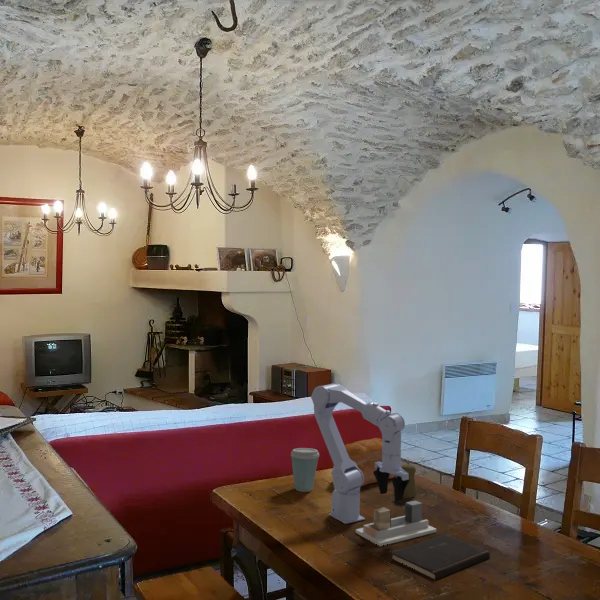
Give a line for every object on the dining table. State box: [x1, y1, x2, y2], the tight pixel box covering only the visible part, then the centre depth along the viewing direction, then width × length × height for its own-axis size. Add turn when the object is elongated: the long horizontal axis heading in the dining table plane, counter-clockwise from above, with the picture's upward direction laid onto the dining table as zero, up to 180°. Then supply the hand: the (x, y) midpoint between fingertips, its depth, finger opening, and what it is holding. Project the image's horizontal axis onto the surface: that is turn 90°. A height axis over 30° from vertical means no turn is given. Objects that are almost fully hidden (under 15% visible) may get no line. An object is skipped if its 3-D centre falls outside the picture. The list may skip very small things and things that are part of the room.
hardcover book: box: [390, 533, 491, 581], centre depth 185 cm, size 16×23×2 cm
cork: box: [401, 463, 417, 499], centre depth 238 cm, size 6×6×11 cm
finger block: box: [373, 506, 392, 531], centre depth 200 cm, size 3×4×7 cm, turn 122°
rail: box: [355, 500, 437, 547], centre depth 203 cm, size 12×22×8 cm, turn 121°
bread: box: [344, 437, 396, 488], centre depth 256 cm, size 14×26×15 cm, turn 130°
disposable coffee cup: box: [290, 447, 320, 493], centre depth 243 cm, size 11×11×15 cm
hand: (390, 497), depth 204 cm, fingers open, 7 cm apart
